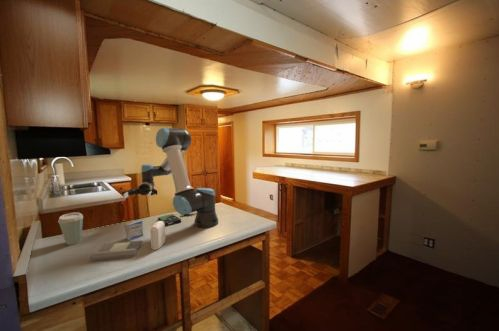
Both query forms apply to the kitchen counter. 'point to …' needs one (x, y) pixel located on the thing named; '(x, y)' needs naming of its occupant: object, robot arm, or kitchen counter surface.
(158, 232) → the photo printer
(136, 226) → the medicine box
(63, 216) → the disposable coffee cup
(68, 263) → the kitchen counter surface
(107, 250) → the dock
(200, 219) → the robot arm
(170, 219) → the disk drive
